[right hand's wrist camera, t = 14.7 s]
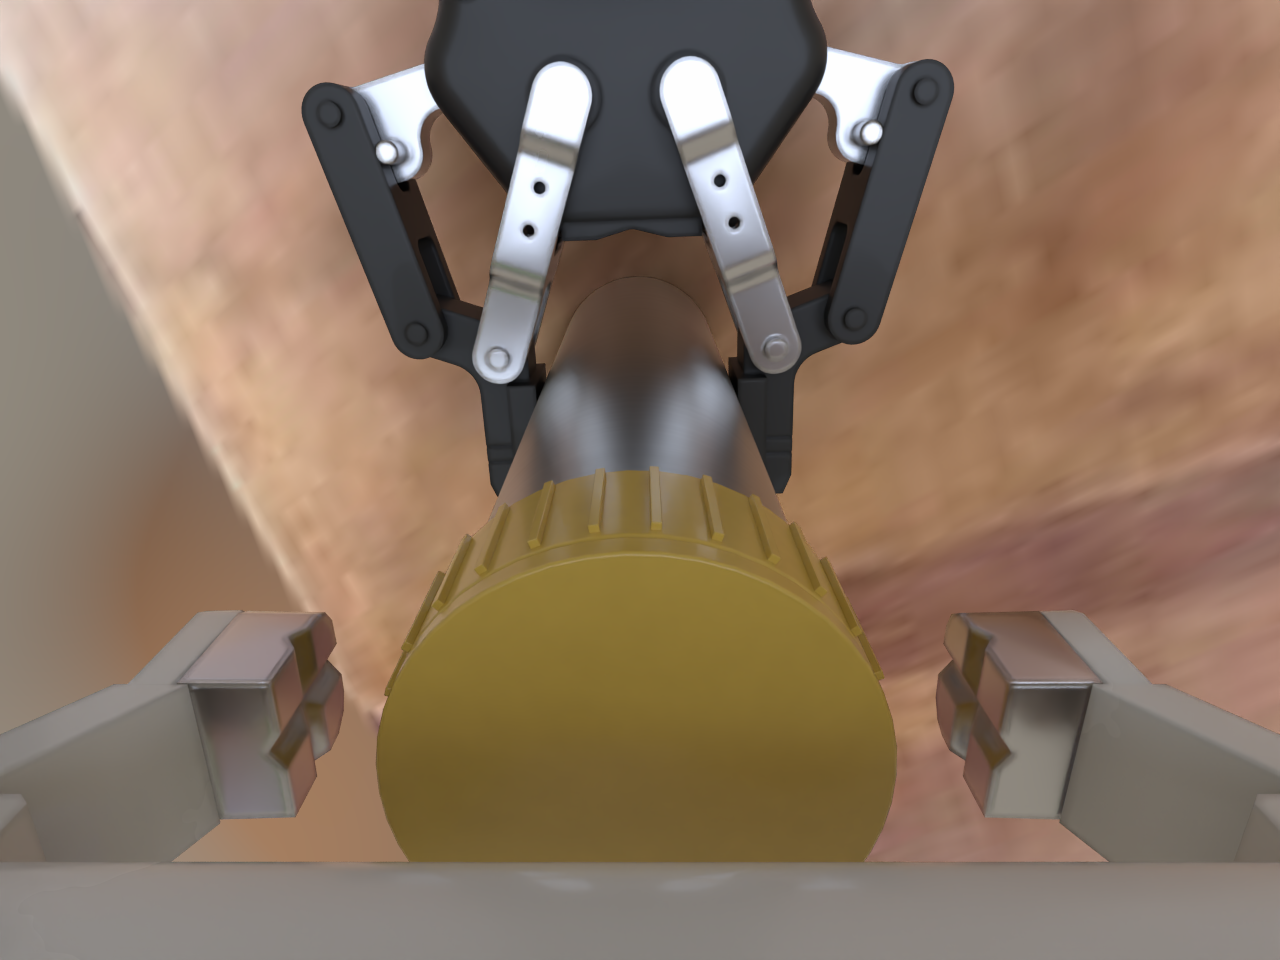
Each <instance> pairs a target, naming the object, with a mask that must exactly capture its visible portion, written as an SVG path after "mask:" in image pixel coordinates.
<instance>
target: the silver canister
mask: <svg viewBox="0 0 1280 960" xmlns="http://www.w3.org/2000/svg"><path fill="white" fill-rule="evenodd" d="M650 466H657V467H659V471H662V472H668V473H675V474H682V475H689V476H692V477H696V478H699V479H701V478H702V476H703V475H707V476H711V477H712V481H713V482H714V483H717V484H720V485H722V486H724V487H727V488H729V489H732V490H734V491H736V492H739V493H741V494H744V495H745V496H747V497H750V496H751V494H754V495H756V496H758V497H760V500H761V503H762V505H763V506H764V507H766V508H768V509H769V510H771V511H772V512H773V513H775V514H776V515H777V516H778V517H780V518H781V519H782V520H784V521H785V522H786V523H787V521H786V518H785V516H784V513H783V511H782V508H781V506H780V503H779V501H778V498H777V496H776V493H775V491H774V488H773V486H772V483H771V481H770V478H769V476H768V473H767V471H766V468H765V466H764V463H763V461H762V458H761V456H760V453H759V451H758V448H757V446H756V443H755V441H754V438H753V436H752V433H751V431H750V428H749V426H748V423H747V421H746V418H745V416H744V413H743V411H742V408H741V406H740V403H739V401H738V398H737V396H736V393H735V391H734V388H733V386H732V383H731V381H730V378H729V376H728V374H727V371H726V369H725V366H724V364H723V361H722V359H721V356H720V354H719V351H718V349H717V346H716V344H715V341H714V339H713V336H712V334H711V331H710V329H709V326H708V324H707V321H706V319H705V317H704V315H703V313H702V312H701V310H700V309H699V307H698V306H697V305H696V303H695V302H694V301H693V300H692V299H691V298H690V297H689V296H688V295H687V294H685V293H684V292H683V291H682V290H680V289H679V288H677V287H675V286H674V285H672V284H669V283H667V282H665V281H662V280H658V279H655V278H649V277H628V278H622V279H618V280H615V281H612V282H610V283H607V284H605V285H603V286H601V287H600V288H598V289H596V290H595V291H594V292H593V293H591V294H590V295H589V296H588V297H587V298H586V299H585V300H584V301H583V302H582V303H581V304H580V306H579V307H578V308H577V310H576V311H575V313H574V315H573V317H572V318H571V321H570V323H569V326H568V328H567V330H566V333H565V335H564V338H563V340H562V343H561V345H560V348H559V350H558V352H557V355H556V357H555V360H554V362H553V365H552V367H551V369H550V372H549V374H548V377H547V379H546V382H545V384H544V386H543V389H542V391H541V394H540V396H539V399H538V401H537V404H536V406H535V408H534V411H533V413H532V416H531V418H530V421H529V423H528V425H527V428H526V430H525V433H524V435H523V438H522V440H521V442H520V445H519V447H518V450H517V452H516V455H515V457H514V460H513V462H512V464H511V467H510V469H509V472H508V474H507V477H506V479H505V481H504V484H503V486H502V489H501V491H500V494H499V496H498V498H497V501H496V503H495V506H494V508H493V511H492V513H491V516H490V518H489V520H488V522H489V521H490V520H491V519H492V518H494V517H495V515H496V512H497V510H498V507H500V506H501V505H503V504H504V503H506V504H507V505H508V506H511V505H512V504H514V503H516V502H518V501H520V500H521V499H523V498H525V497H527V496H529V495H531V494H533V493H535V492H537V491H539V490H541V489H543V485H544V483H546V482H548V481H551V480H552V481H553V482H554V484H558V483H561V482H563V481H566V480H570V479H574V478H578V477H583V476H587V475H592V474H595V470H596V469H599V468H605V472H615V471H625V470H638V471H649V467H650ZM787 524H788V523H787Z"/></svg>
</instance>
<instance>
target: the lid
mask: <svg viewBox="0 0 1280 960" xmlns="http://www.w3.org/2000/svg"><path fill="white" fill-rule="evenodd" d="M401 649H402V650H404V651H403V653H402V655H401V657H400V659H399V661H398V663H397V666H396V668H395V670H394V672H393V674H392V676H391V678H390V680H389V682H388V685H387V687H386V690H385V694H384V695H385V696H388V698H387V701H386V704H385V706H384V709H383V713H382V717H381V722H380V726H379V731H378V736H377V752H376V769H377V778H378V786H379V794H380V797H381V801H382V804H383V808H384V811H385V815H386V818H387V821H388V823H389V826H390V828H391V830H392V832H393V834H394V837H395V839H396V841H397V843H398V845H399V847H400V848H401V850H402V851H403V853H404V854H405V856H406V858H407V859H408V861H409V862H864V861H865V860H866V858H867V857H868V855H869V854H870V852H871V851H872V849H873V847H874V845H875V843H876V841H877V839H878V837H879V835H880V833H881V831H882V829H883V827H884V824H885V821H886V818H887V815H888V812H889V809H890V806H891V803H892V798H893V792H894V786H895V781H896V775H897V745H896V738H895V732H894V725H893V719H892V716H891V713H890V710H889V707H888V704H887V701H886V698H885V695H884V692H883V690H882V688H881V685H880V683H879V681H878V680H881V679H884V675H883V672H882V669H881V667H880V665H879V663H878V661H877V659H876V657H875V655H874V652H873V650H872V648H871V646H870V644H869V642H868V640H867V638H866V635H865V633H864V631H863V629H862V627H861V625H860V623H859V620H858V618H857V616H856V614H855V612H854V610H853V608H852V606H851V603H850V601H849V599H848V597H846V595H845V593H844V591H843V589H842V587H841V585H840V582H839V580H838V578H837V576H836V574H835V572H834V570H833V567H832V565H831V563H830V562H829V560H828V559H827V557H825V558H823V559H821V560H820V559H819V558H818V556H817V555H816V553H815V552H814V551H813V549H812V548H811V546H810V545H809V544H808V543H807V542H806V540H805V538H804V535H803V533H802V531H801V528H800V526H798V525H797V524H796V523H795V522H793V523H792V524H791V525H789V524H787V523H786V522H785V521H784V520H782V519H781V518H780V517H778V516H777V515H776V514H775V513H773V512H772V511H771V510H769V509H768V508H766V507H764V506H763V505H762V503H761V500H760V497H758V496H756V495H754V494H751V496H750V497H747V496H745V495H744V494H741V493H739V492H736V491H734V490H732V489H729V488H727V487H724V486H722V485H720V484H717V483H714V482H713V481H712V477H711V476H707V475H703V476H702V478H701V479H699V478H696V477H692V476H689V475H682V474H675V473H668V472H662V471H659V467H657V466H650V467H649V471H638V470H625V471H615V472H605V468H599V469H596V470H595V474H592V475H587V476H583V477H578V478H574V479H570V480H566V481H563V482H561V483H558V484H554V482H553V481H552V480H551V481H548V482H546V483H544V485H543V489H541V490H539V491H537V492H535V493H533V494H531V495H529V496H527V497H525V498H523V499H521V500H520V501H518V502H516V503H514V504H512V505H511V506H508V505H507V504H506V503H504V504H503V505H501V506H500V507H498V510H497V512H496V515H495V517H494V518H492V519H491V520H490V521H489V522H488V523H487V524H485V525H484V526H483V527H482V528H481V529H480V530H479V531H478V532H477V533H476V534H475V535H474V536H473V537H471V536H470V535H468V534H466V535H465V536H464V537H463V538H462V540H461V542H460V544H459V546H458V549H457V551H456V553H455V555H454V557H453V559H452V562H451V564H450V566H449V568H448V570H447V572H446V573H445V574H444V573H442V572H440V571H438V573H437V575H436V577H435V579H434V581H433V583H432V585H431V587H430V589H429V591H428V593H427V595H426V597H425V600H424V602H423V604H422V606H421V608H420V610H419V612H418V614H417V616H416V618H415V620H414V622H413V624H412V627H411V629H410V631H409V633H408V635H407V637H406V639H405V641H404V643H403V645H402V647H401Z"/></svg>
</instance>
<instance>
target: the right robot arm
mask: <svg viewBox="0 0 1280 960" xmlns="http://www.w3.org/2000/svg"><path fill="white" fill-rule="evenodd" d="M336 644H337V643H336V638H335V633H334V628H333V623H332V620H331V619H330V617H329V616H328V615H327V614H326V613H325V612H276V611H246V612H245V611H242V610H230V611H205V612H199V613H197V614H196V615H195V616H194V617H193V618H192V619H191V620H190V621H189V622H188V623H187V624H186V625H185V626H184V627H183V628H182V629H181V630H180V631H179V632H178V633H177V634H176V635H175V636H174V637H173V638H172V639H171V640H170V641H169V642H168V643H167V644H166V645H165V646H164V647H163V649H162V650H161V651H160V652H159V653H158V654H157V655H156V656H155V657H154V658H153V659H152V660H151V661H150V662H149V663H148V664H147V665H146V666H145V667H144V668H143V669H142V670H141V671H140V672H139V673H138V674H137V675H136V676H135V677H134V678H133V679H132V680H131V681H130V682H129V683H128V684H114V685H111V686H109V687H107V688H105V689H102V690H100V691H98V692H95V693H93V694H91V695H89V696H86V697H84V698H82V699H80V700H77V701H75V702H73V703H70V704H68V705H66V706H64V707H61V708H59V709H57V710H55V711H52V712H50V713H48V714H46V715H43V716H41V717H39V718H36V719H34V720H32V721H30V722H27V723H25V724H23V725H21V726H18V727H16V728H14V729H11V730H9V731H7V732H5V733H2V734H0V960H1280V734H1277V733H1275V732H1273V731H1270V730H1268V729H1266V728H1264V727H1261V726H1259V725H1257V724H1255V723H1252V722H1250V721H1248V720H1246V719H1243V718H1241V717H1239V716H1237V715H1234V714H1232V713H1230V712H1227V711H1225V710H1223V709H1221V708H1218V707H1216V706H1214V705H1212V704H1209V703H1207V702H1205V701H1203V700H1200V699H1198V698H1196V697H1194V696H1191V695H1189V694H1187V693H1185V692H1182V691H1180V690H1178V689H1175V688H1173V687H1171V686H1169V685H1166V684H1152V683H1151V682H1150V681H1149V680H1148V679H1147V678H1146V677H1145V676H1144V675H1143V674H1142V673H1141V672H1140V671H1139V670H1138V669H1137V668H1136V667H1135V666H1134V665H1133V664H1132V663H1131V662H1130V661H1129V660H1128V659H1127V658H1126V657H1125V656H1124V655H1123V653H1122V652H1121V651H1120V650H1119V649H1118V648H1117V647H1116V646H1115V645H1114V644H1113V643H1112V642H1111V641H1110V640H1109V639H1108V638H1107V637H1106V636H1105V635H1104V634H1103V633H1102V632H1101V631H1100V630H1099V629H1098V628H1097V627H1096V626H1095V625H1094V624H1093V623H1092V622H1091V621H1090V620H1089V619H1088V618H1087V617H1086V616H1085V615H1084V614H1083V613H1080V612H1078V611H1075V610H1060V611H1027V612H986V613H957V614H951V617H950V619H949V621H948V624H947V626H946V631H945V637H944V643H943V644H944V645H945V647H946V649H947V650H948V652H949V654H950V655H951V657H952V659H953V660H952V661H951V662H950V663H949V664H948V665H947V666H946V667H945V668H944V669H943V670H942V671H941V672H940V673H939V675H938V683H937V691H936V706H937V718H938V723H939V726H940V730H941V733H942V736H943V738H944V740H945V742H946V744H947V746H948V748H949V750H950V751H952V752H953V753H955V754H956V755H958V756H959V757H961V758H962V759H964V760H965V766H964V772H963V777H964V779H965V781H966V783H967V785H968V787H969V789H970V790H971V792H972V794H973V796H974V798H975V800H976V802H977V804H978V806H979V807H980V809H981V811H982V813H983V815H984V817H992V818H1029V819H1060V822H1059V823H1061V824H1062V825H1063V826H1064V827H1066V828H1067V829H1068V830H1069V831H1071V832H1072V833H1073V834H1075V835H1076V836H1077V837H1078V838H1080V839H1081V840H1082V841H1083V842H1085V843H1086V844H1087V845H1088V846H1090V847H1091V848H1092V849H1094V850H1095V851H1096V852H1097V853H1099V854H1100V855H1101V856H1102V857H1104V858H1105V859H1106V860H1107V861H1109V862H172V861H173V860H174V859H175V858H177V857H178V856H179V855H180V854H182V853H183V852H184V851H185V850H187V849H188V848H189V847H190V846H192V845H193V844H194V843H196V842H197V841H198V840H199V839H201V838H202V837H203V836H204V835H206V834H207V833H208V832H210V831H211V830H212V829H213V828H215V827H216V826H217V825H218V824H220V819H250V818H286V817H296V815H297V813H298V811H299V809H300V808H301V806H302V804H303V802H304V800H305V798H306V796H307V794H308V792H309V790H310V788H311V787H312V785H313V783H314V781H315V779H316V777H317V772H316V766H315V760H316V759H318V758H319V757H321V756H322V755H324V754H325V753H327V752H328V751H330V750H331V748H332V746H333V744H334V742H335V740H336V738H337V736H338V734H339V730H340V725H341V721H342V716H343V711H344V689H343V682H342V675H341V673H340V672H339V671H338V670H337V669H336V668H335V667H334V666H333V665H332V664H331V663H330V662H329V661H328V660H327V659H328V657H329V655H330V654H331V652H332V650H333V649H334V647H335V645H336Z"/></svg>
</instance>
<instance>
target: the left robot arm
mask: <svg viewBox="0 0 1280 960" xmlns="http://www.w3.org/2000/svg"><path fill="white" fill-rule="evenodd" d="M953 93H954V82H953V77H952V75H951V73H950V71H949V70H948V68H947V67H946V66H945V65H944V64H942V63H941V62H939V61H936V60H932V59H925V60H920V61H914V62H910V63H906V64H896V63H892V62H887V61H883V60H879V59H875V58H871V57H867V56H863V55H859V54H855V53H851V52H847V51H843V50H839V49H834V48H830V47H827V41H826V36H825V33H824V30H823V27H822V25H821V23H820V21H819V19H818V17H817V15H816V13H815V11H814V8H813V6H812V3H811V0H439V7H438V13H437V18H436V22H435V25H434V28H433V31H432V33H431V36H430V38H429V41H428V43H427V47H426V51H425V58H424V64H422V65H419V66H416V67H413V68H410V69H407V70H404V71H401V72H398V73H395V74H392V75H389V76H386V77H383V78H380V79H377V80H374V81H371V82H368V83H365V84H362V85H359V86H356V87H347V86H343V85H338V84H334V83H327V82H325V83H320V84H317V85H315V86H313V87H312V88H311V89H310V90H309V91H308V92H307V93H306V95H305V97H304V99H303V102H302V118H303V121H304V124H305V126H306V129H307V131H308V134H309V136H310V139H311V141H312V144H313V146H314V148H315V151H316V153H317V156H318V158H319V161H320V163H321V166H322V168H323V171H324V173H325V175H326V178H327V180H328V183H329V185H330V188H331V190H332V193H333V195H334V198H335V200H336V202H337V205H338V207H339V210H340V212H341V215H342V217H343V220H344V222H345V225H346V227H347V229H348V232H349V234H350V237H351V239H352V242H353V244H354V247H355V249H356V252H357V254H358V256H359V259H360V261H361V264H362V266H363V269H364V271H365V274H366V276H367V279H368V281H369V283H370V286H371V288H372V291H373V293H374V296H375V298H376V301H377V303H378V306H379V308H380V310H381V313H382V315H383V318H384V320H385V323H386V325H387V328H388V330H389V333H390V335H391V337H392V340H393V342H394V344H395V346H396V347H397V348H398V350H399V351H400V352H402V353H403V354H404V355H406V356H408V357H410V358H414V359H426V358H429V357H432V358H435V359H438V360H441V361H445V362H448V363H451V364H454V365H457V366H460V367H462V368H463V369H465V370H466V371H468V372H469V373H470V374H471V375H472V376H473V377H474V379H475V380H476V382H477V384H478V386H479V389H480V393H481V401H482V410H483V419H484V428H485V437H486V445H487V455H488V461H489V473H490V482H491V486H492V487H493V489H494V491H495V493H496V495H497V497H498V496H499V494H500V491H501V489H502V486H503V484H504V481H505V479H506V477H507V474H508V472H509V469H510V467H511V464H512V462H513V460H514V457H515V455H516V452H517V450H518V447H519V445H520V442H521V440H522V438H523V435H524V433H525V430H526V428H527V425H528V423H529V421H530V418H531V416H532V413H533V411H534V408H535V406H536V404H537V401H538V399H539V396H540V394H541V391H542V389H543V386H544V384H545V382H546V368H545V364H536V356H535V345H536V341H537V338H538V334H539V330H540V326H541V323H542V319H543V315H544V312H545V308H546V304H547V300H548V297H549V293H550V289H551V286H552V282H553V279H554V276H555V273H556V270H557V267H558V264H559V260H560V257H561V253H562V249H563V245H564V242H565V241H580V240H597V239H601V238H604V237H607V236H610V235H613V234H616V233H619V232H622V231H625V230H629V229H636V230H640V231H644V232H649V233H653V234H657V235H661V236H665V237H682V236H702V237H703V239H704V242H705V245H706V248H707V251H708V253H709V256H710V259H711V262H712V264H713V267H714V269H715V272H716V274H717V277H718V279H719V282H720V285H721V288H722V291H723V293H724V296H725V299H726V302H727V305H728V308H729V310H730V313H731V316H732V319H733V322H734V324H735V327H736V330H737V357H729V378H730V381H731V383H732V386H733V388H734V391H735V393H736V396H737V398H738V401H739V403H740V406H741V408H742V411H743V413H744V416H745V418H746V421H747V423H748V426H749V428H750V431H751V433H752V436H753V438H754V441H755V443H756V446H757V448H758V451H759V453H760V456H761V458H762V461H763V463H764V466H765V468H766V471H767V473H768V476H769V478H770V481H771V483H772V486H773V488H774V491H775V493H783V491H784V489H785V487H786V485H787V482H788V480H789V478H790V476H791V462H792V453H791V451H792V429H793V396H794V379H795V375H796V372H797V370H798V368H799V367H800V365H801V364H802V363H803V362H804V361H805V360H806V359H807V358H808V357H809V356H811V355H812V354H815V353H817V352H819V351H822V350H824V349H827V348H829V347H832V346H834V345H837V344H840V343H845V344H851V345H852V344H859V343H862V342H865V341H866V340H868V339H869V338H871V337H872V336H873V335H874V334H875V332H876V331H877V329H878V327H879V325H880V322H881V319H882V316H883V313H884V309H885V306H886V303H887V300H888V297H889V294H890V291H891V288H892V285H893V281H894V278H895V275H896V272H897V269H898V266H899V263H900V260H901V257H902V253H903V250H904V247H905V244H906V241H907V238H908V235H909V232H910V228H911V225H912V222H913V219H914V216H915V213H916V210H917V207H918V204H919V200H920V197H921V194H922V191H923V188H924V185H925V182H926V179H927V176H928V172H929V169H930V166H931V163H932V160H933V157H934V154H935V151H936V148H937V144H938V141H939V138H940V135H941V132H942V129H943V126H944V123H945V119H946V116H947V113H948V110H949V107H950V104H951V101H952V97H953ZM812 97H813V98H815V99H816V100H818V101H819V102H820V103H821V104H822V105H823V107H824V108H825V110H826V113H827V115H828V123H829V126H828V133H827V141H828V145H829V148H830V150H831V152H832V153H833V155H834V156H835V157H837V158H838V159H839V160H841V161H844V162H847V164H846V167H845V171H844V174H843V178H842V181H841V185H840V188H839V192H838V195H837V199H836V202H835V206H834V209H833V213H832V216H831V220H830V223H829V227H828V230H827V234H826V237H825V241H824V244H823V248H822V251H821V255H820V258H819V262H818V265H817V269H816V272H815V276H814V279H813V283H812V286H811V287H810V288H807V289H805V290H802V291H800V292H797V293H795V294H792V295H790V296H787V297H786V294H785V291H784V288H783V285H782V282H781V279H780V275H779V272H778V268H777V260H776V256H775V253H774V249H773V246H772V243H771V240H770V237H769V234H768V231H767V228H766V225H765V222H764V219H763V216H762V213H761V210H760V206H759V203H758V200H757V197H756V194H755V191H754V188H753V184H754V183H755V181H756V180H757V178H758V177H759V175H760V174H761V172H762V171H763V170H764V168H765V167H766V165H767V164H768V162H769V161H770V159H771V158H772V156H773V155H774V153H775V152H776V150H777V149H778V147H779V146H780V144H781V143H782V141H783V140H784V139H785V137H786V136H787V134H788V133H789V131H790V130H791V128H792V127H793V125H794V124H795V122H796V121H797V119H798V118H799V116H800V115H801V113H802V112H803V111H804V109H805V108H806V106H807V105H808V103H809V102H810V100H811V99H812ZM442 113H443V114H444V115H445V116H446V117H447V119H448V120H449V121H450V122H451V124H452V125H453V126H454V127H455V129H456V130H457V131H458V132H459V134H460V135H461V136H462V137H463V139H464V140H465V141H466V142H467V144H468V145H469V146H470V147H471V149H472V150H473V151H474V152H475V154H476V155H477V156H478V157H479V159H480V160H481V161H482V162H483V164H484V165H485V166H486V167H487V169H488V170H489V171H490V172H491V174H492V175H493V176H494V177H495V179H496V180H497V181H498V182H499V184H500V185H501V186H502V188H503V189H504V190H505V191H506V193H507V194H508V195H507V199H506V203H505V207H504V212H503V216H502V220H501V224H500V228H499V232H498V236H497V241H496V245H495V249H494V253H493V257H492V262H491V267H490V281H489V286H488V291H487V295H486V299H485V303H484V307H483V308H482V307H479V306H476V305H473V304H470V303H467V302H463V301H460V298H459V296H458V293H457V290H456V287H455V285H454V282H453V279H452V277H451V274H450V271H449V269H448V266H447V263H446V260H445V258H444V255H443V252H442V250H441V247H440V244H439V242H438V239H437V236H436V234H435V231H434V228H433V225H432V223H431V220H430V217H429V215H428V212H427V209H426V207H425V204H424V201H423V198H422V196H421V193H420V190H419V188H418V185H417V182H416V179H418V178H420V177H422V176H423V175H424V174H425V173H426V172H427V171H428V169H429V167H430V165H431V162H432V148H431V144H430V131H431V127H432V125H433V123H434V121H435V120H436V118H437V117H438V116H439V115H441V114H442Z"/></svg>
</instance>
